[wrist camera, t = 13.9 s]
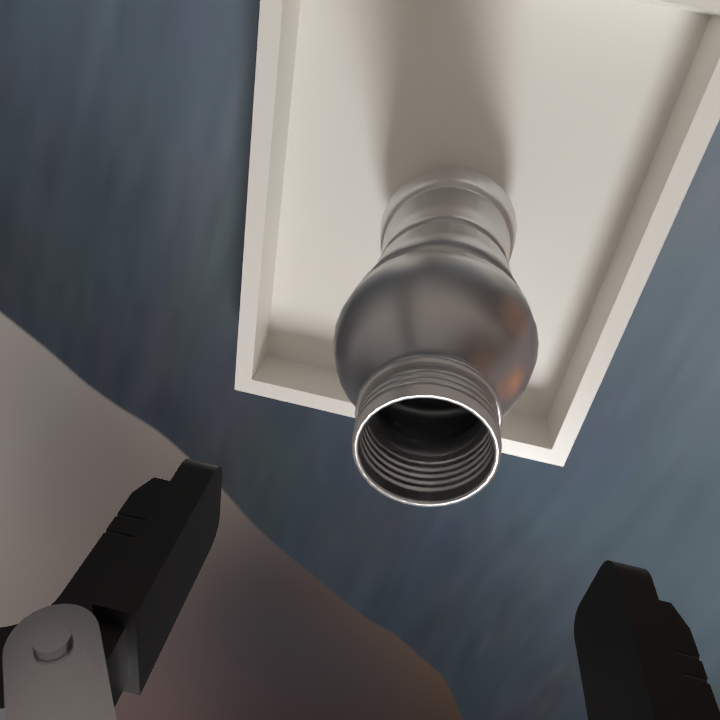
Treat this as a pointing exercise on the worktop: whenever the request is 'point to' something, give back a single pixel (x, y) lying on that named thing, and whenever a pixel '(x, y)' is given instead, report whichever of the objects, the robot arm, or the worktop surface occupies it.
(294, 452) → the worktop surface
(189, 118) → the worktop surface
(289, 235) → the plastic tray
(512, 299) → the plastic bottle
